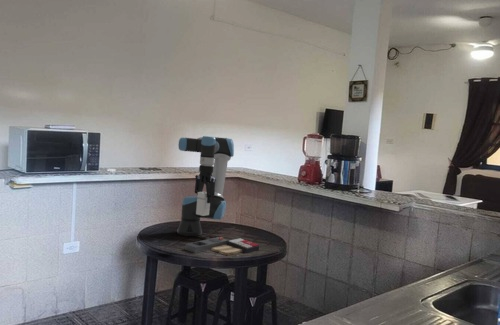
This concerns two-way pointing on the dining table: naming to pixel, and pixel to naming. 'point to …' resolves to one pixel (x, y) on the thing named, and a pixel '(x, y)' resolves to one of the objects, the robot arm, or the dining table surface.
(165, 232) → the dining table surface
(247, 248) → the calculator
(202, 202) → the block
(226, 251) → the wooden board
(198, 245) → the grey handheld radio
